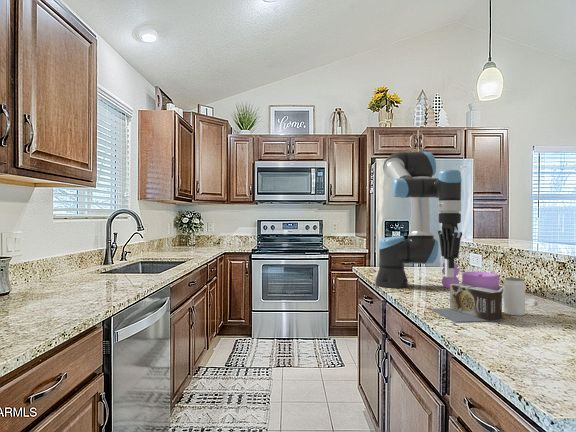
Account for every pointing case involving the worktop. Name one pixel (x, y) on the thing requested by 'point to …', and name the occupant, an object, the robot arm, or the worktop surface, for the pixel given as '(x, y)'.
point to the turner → (507, 316)
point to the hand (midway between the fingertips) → (449, 276)
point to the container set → (472, 279)
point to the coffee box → (476, 301)
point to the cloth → (527, 301)
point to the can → (514, 297)
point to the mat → (460, 316)
